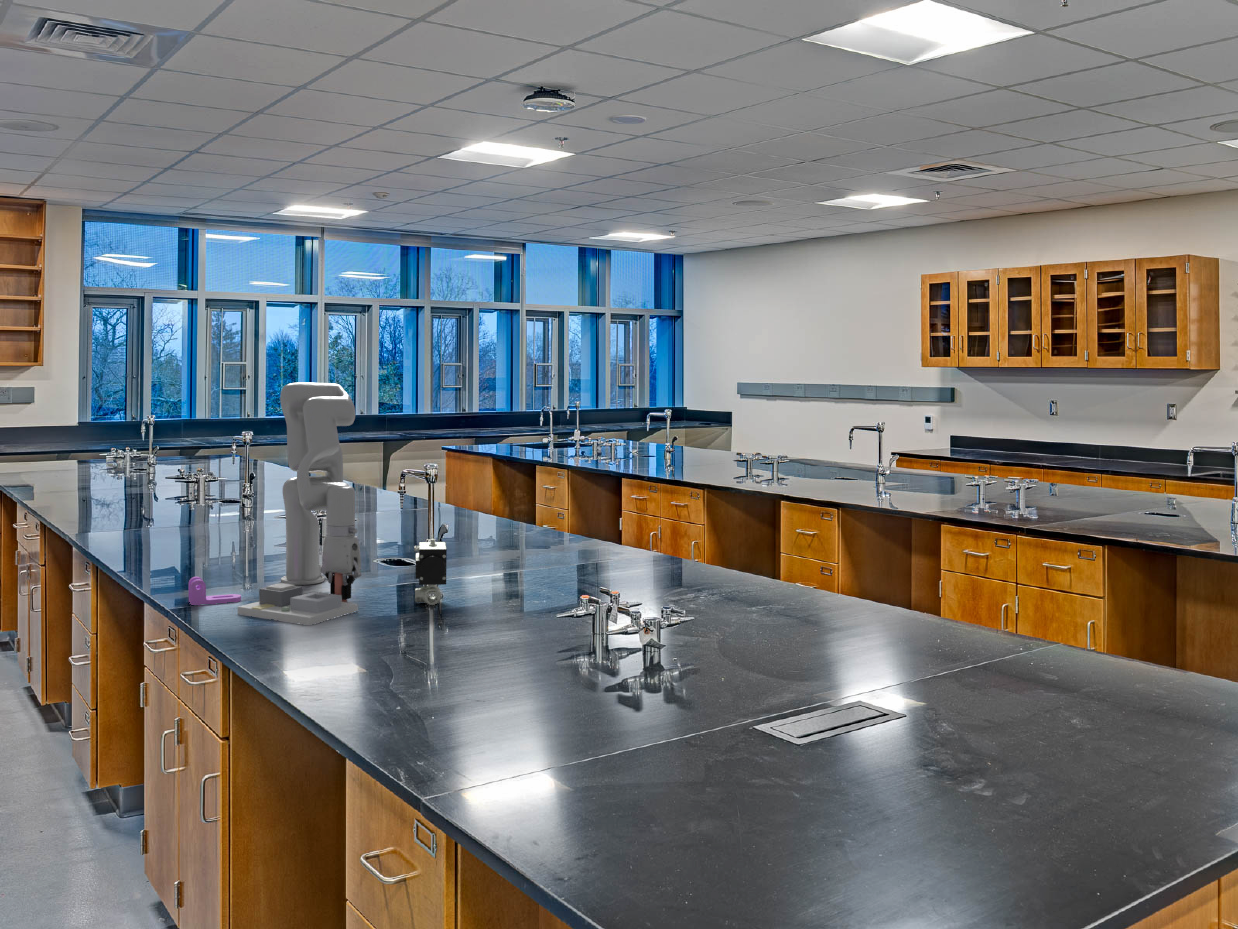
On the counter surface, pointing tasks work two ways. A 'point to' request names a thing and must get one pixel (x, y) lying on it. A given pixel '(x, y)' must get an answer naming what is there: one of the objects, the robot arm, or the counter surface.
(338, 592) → the peg
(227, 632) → the counter surface
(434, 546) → the ball valve
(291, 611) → the panel
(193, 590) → the bracket
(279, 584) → the button
